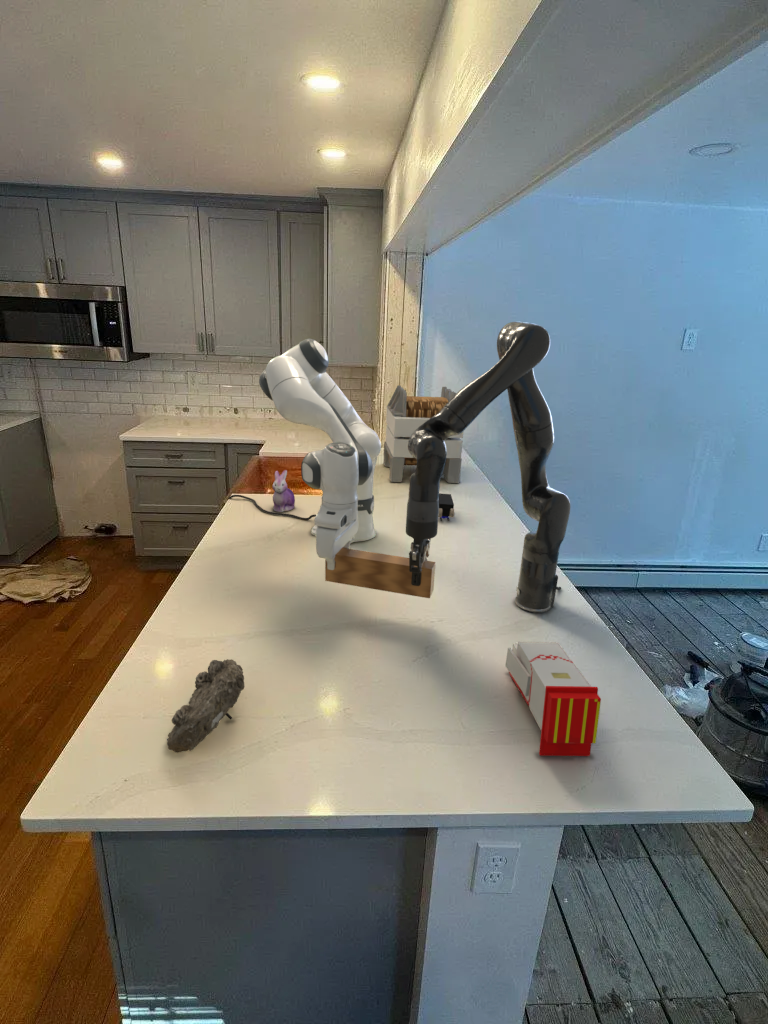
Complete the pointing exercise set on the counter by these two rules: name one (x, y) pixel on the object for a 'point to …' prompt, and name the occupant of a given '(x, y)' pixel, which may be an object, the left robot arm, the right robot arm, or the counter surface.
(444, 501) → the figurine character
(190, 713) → the fossil
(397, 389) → the legged crate with fins
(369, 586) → the bar
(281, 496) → the figurine
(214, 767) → the counter surface
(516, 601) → the right robot arm
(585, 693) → the toy
